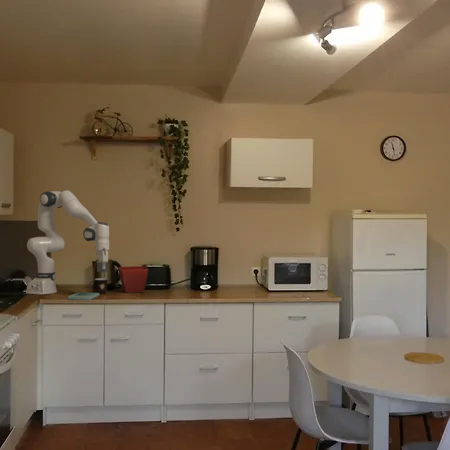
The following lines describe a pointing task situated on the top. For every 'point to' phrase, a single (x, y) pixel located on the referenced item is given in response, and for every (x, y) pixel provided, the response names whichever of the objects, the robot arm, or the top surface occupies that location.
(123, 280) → the plant pot
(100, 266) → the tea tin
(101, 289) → the coffee mug
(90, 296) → the tray
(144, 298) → the top surface
